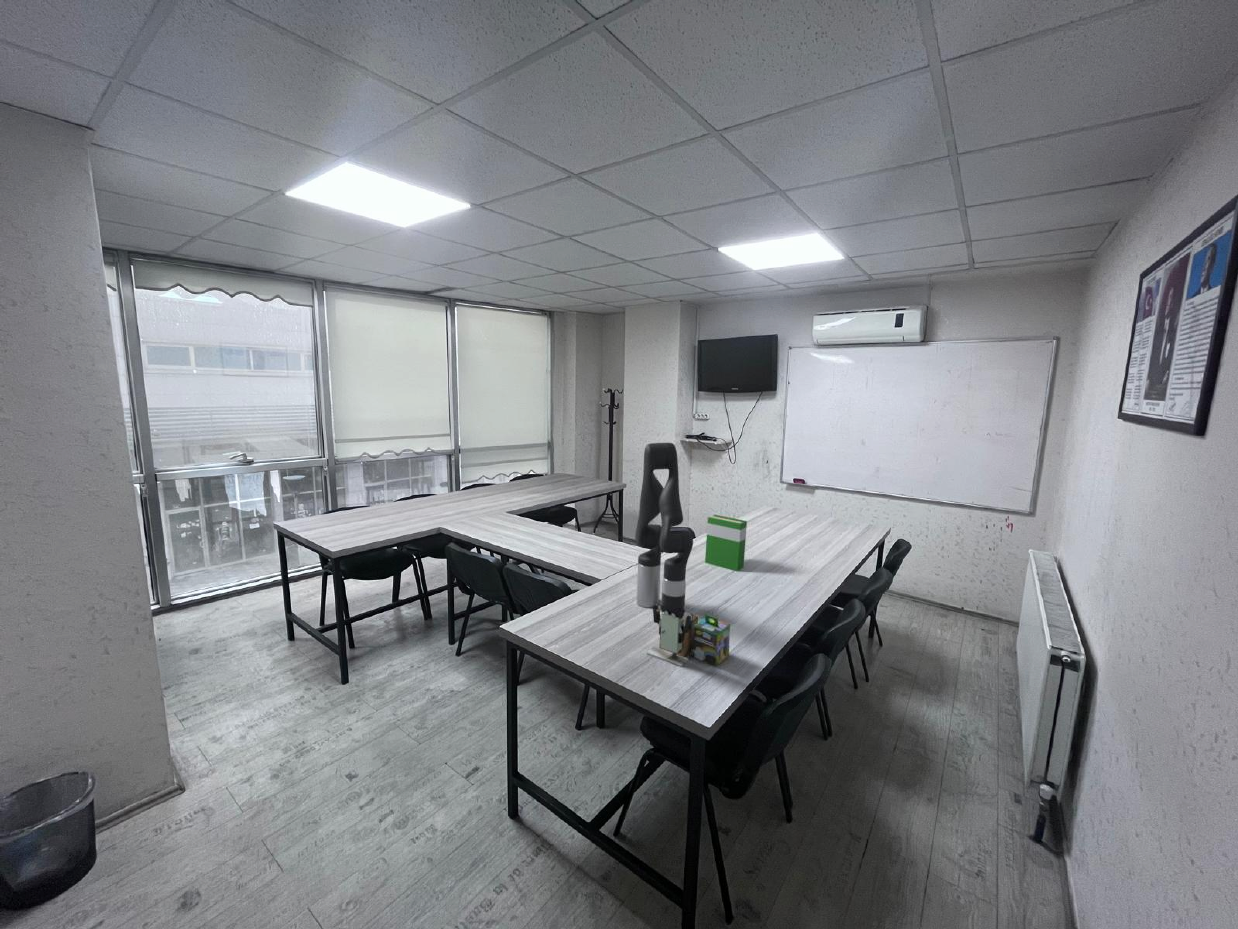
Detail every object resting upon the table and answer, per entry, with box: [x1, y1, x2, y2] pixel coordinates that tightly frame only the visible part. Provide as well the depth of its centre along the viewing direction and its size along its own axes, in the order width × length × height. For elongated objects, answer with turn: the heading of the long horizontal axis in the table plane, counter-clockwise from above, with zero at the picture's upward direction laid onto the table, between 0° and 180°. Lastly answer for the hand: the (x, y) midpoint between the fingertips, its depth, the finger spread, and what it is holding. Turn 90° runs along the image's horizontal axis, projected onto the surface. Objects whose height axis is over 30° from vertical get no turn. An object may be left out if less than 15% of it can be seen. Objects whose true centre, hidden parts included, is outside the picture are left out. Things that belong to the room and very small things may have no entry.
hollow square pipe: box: [659, 612, 683, 653], centre depth 161 cm, size 4×6×12 cm
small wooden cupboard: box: [646, 611, 699, 668], centre depth 167 cm, size 15×13×11 cm
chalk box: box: [692, 613, 731, 667], centre depth 164 cm, size 9×9×15 cm
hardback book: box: [704, 514, 748, 572], centre depth 248 cm, size 18×7×24 cm, turn 52°
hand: (671, 639), depth 162 cm, fingers closed on hollow square pipe, 6 cm apart
